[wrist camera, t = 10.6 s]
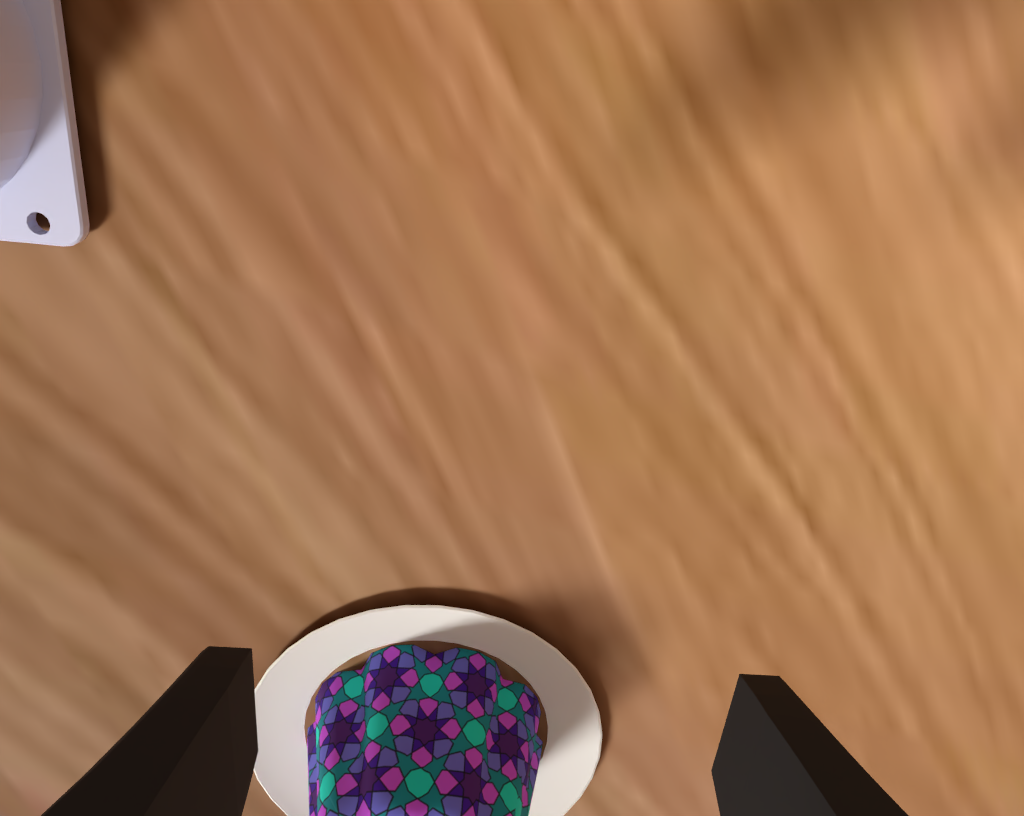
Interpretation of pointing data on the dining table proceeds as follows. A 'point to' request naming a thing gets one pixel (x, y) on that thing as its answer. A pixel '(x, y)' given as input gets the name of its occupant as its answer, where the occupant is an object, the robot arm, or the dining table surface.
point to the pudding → (424, 720)
